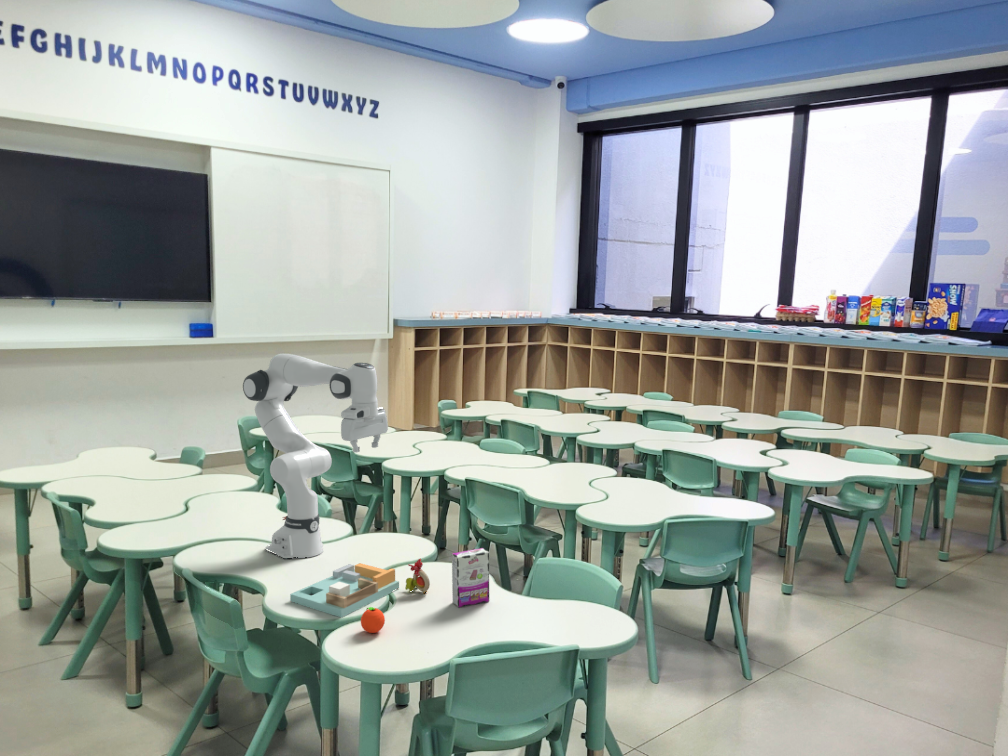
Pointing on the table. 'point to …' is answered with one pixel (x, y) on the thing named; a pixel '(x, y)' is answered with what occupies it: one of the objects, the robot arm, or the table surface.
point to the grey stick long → (350, 576)
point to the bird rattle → (418, 578)
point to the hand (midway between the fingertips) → (365, 449)
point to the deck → (317, 592)
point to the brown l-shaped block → (353, 594)
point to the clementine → (372, 620)
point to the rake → (376, 574)
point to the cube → (340, 589)
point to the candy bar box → (470, 577)
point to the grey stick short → (342, 570)
